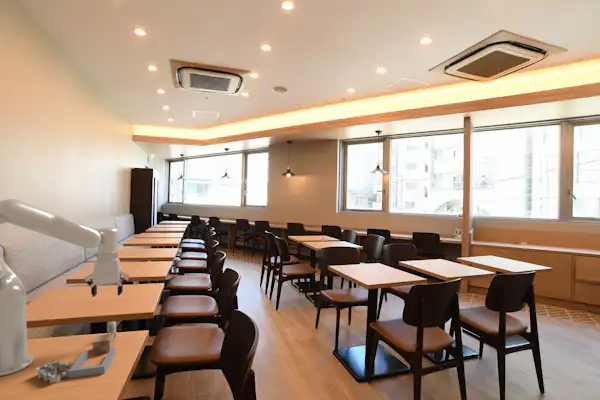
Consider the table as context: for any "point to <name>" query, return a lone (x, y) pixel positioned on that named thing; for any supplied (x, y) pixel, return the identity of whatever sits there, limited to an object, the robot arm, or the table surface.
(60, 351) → the table surface
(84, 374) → the lane rack
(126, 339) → the table surface
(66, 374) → the grey rough openwork block
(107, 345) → the tan block with knob
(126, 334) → the table surface
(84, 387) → the table surface
